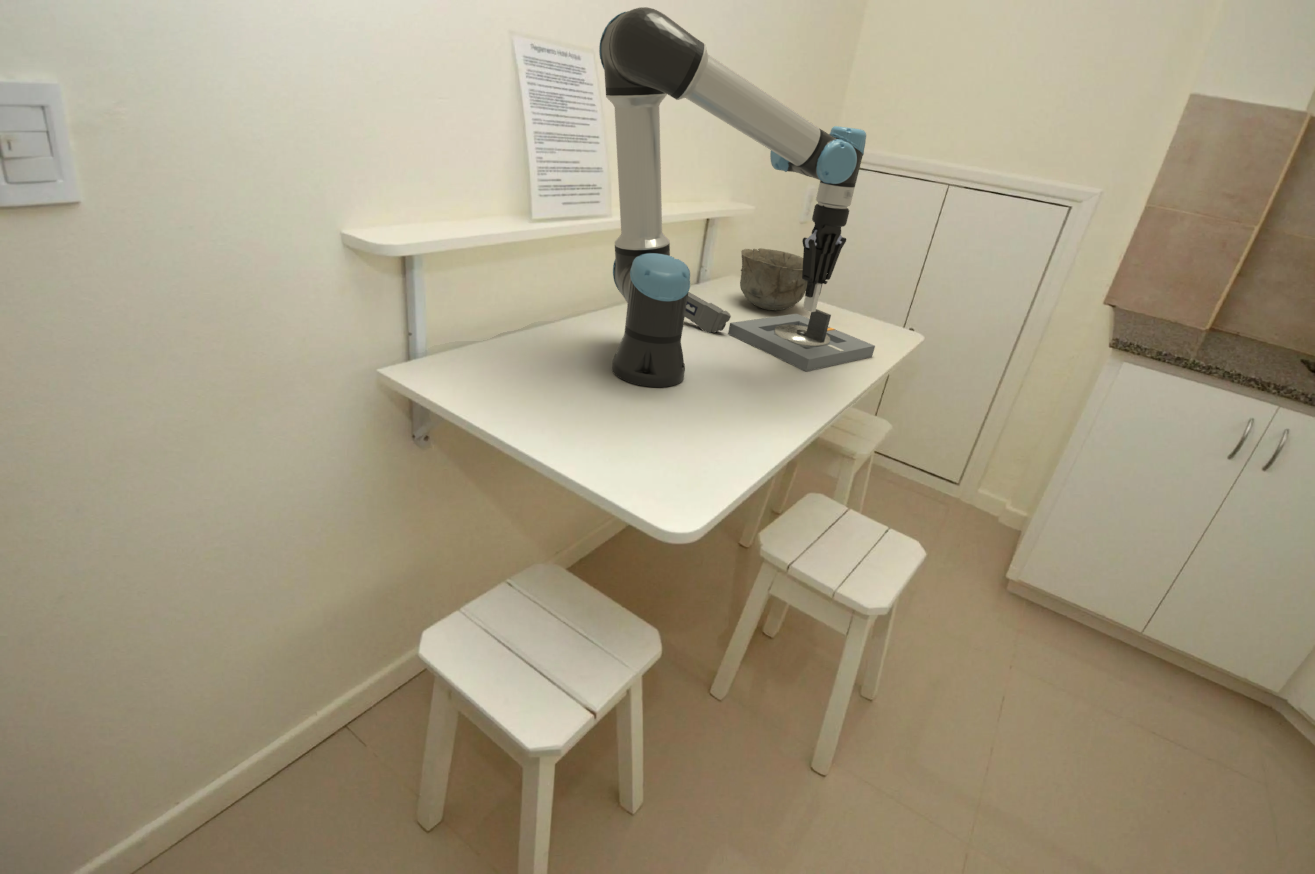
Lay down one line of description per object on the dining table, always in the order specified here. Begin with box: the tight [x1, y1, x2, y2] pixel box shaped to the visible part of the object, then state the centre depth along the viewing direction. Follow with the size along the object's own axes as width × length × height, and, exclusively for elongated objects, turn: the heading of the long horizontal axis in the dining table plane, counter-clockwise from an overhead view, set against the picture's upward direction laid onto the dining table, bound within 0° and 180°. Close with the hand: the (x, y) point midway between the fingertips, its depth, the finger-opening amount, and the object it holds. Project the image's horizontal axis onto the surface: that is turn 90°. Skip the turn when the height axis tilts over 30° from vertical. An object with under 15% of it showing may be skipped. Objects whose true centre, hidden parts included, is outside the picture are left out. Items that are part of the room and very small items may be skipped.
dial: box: [774, 308, 832, 349], centre depth 164 cm, size 14×14×8 cm
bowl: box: [739, 247, 807, 311], centre depth 191 cm, size 22×22×15 cm
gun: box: [684, 291, 732, 334], centre depth 170 cm, size 3×25×15 cm, turn 61°
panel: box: [727, 313, 876, 372], centre depth 166 cm, size 26×26×3 cm
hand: (809, 310), depth 154 cm, fingers closed
